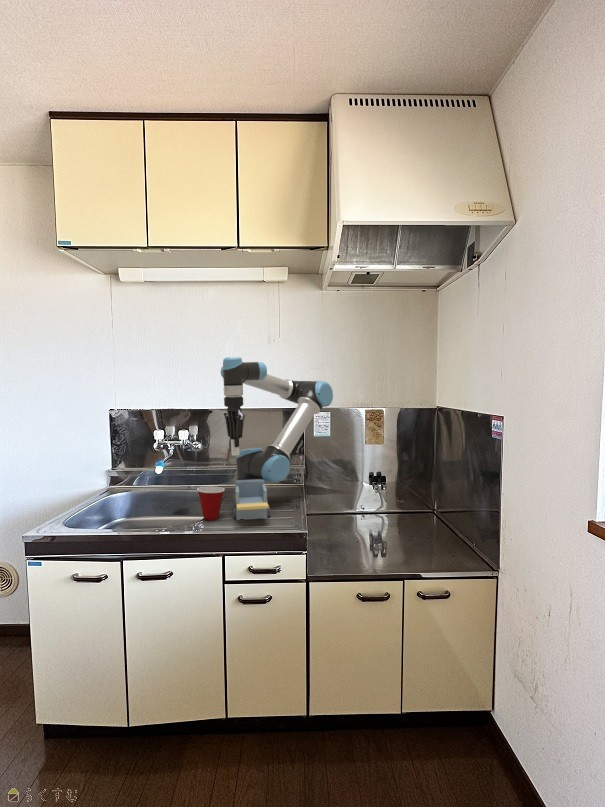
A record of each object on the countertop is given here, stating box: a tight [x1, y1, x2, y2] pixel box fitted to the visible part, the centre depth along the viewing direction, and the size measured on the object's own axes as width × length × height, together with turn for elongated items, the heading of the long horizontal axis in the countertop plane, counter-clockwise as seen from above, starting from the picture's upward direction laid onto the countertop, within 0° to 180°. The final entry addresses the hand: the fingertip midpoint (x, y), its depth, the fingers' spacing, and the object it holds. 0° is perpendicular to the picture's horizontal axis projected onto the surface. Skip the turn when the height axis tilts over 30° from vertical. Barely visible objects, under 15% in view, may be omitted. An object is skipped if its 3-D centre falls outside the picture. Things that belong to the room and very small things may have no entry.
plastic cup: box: [196, 485, 226, 521], centre depth 185 cm, size 11×11×12 cm
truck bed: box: [232, 479, 271, 521], centre depth 190 cm, size 14×14×12 cm
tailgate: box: [237, 502, 270, 510], centre depth 178 cm, size 2×12×9 cm
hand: (235, 454), depth 188 cm, fingers closed
